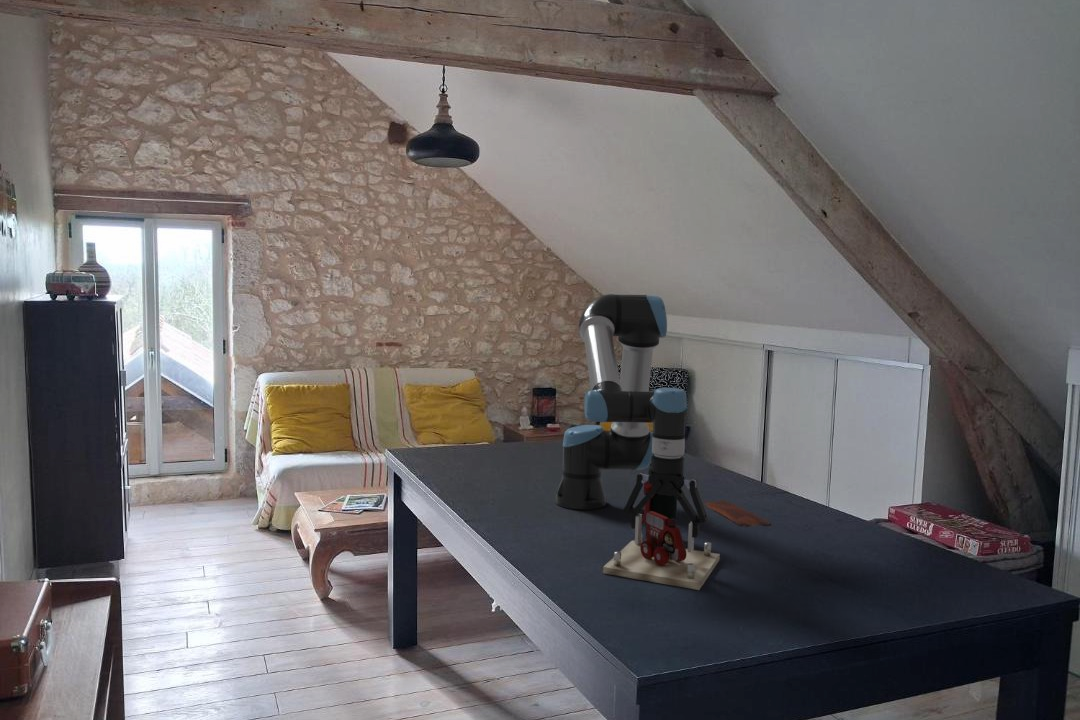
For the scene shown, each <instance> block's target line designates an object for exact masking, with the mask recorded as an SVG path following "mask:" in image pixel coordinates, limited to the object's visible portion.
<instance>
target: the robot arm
mask: <svg viewBox="0 0 1080 720" xmlns="http://www.w3.org/2000/svg"><path fill="white" fill-rule="evenodd" d="M667 320H668V317H667V310H666V306H665V303H664V300H663V299H662V297H660V296H657V295H647V294H614V293H612V294H603V295H600V296H599V297H597V298H595V299H594V300H592V301H591V302H590V303H589V304H587V306H586V307H585V309H584V310H583V311H582V313H581V315H580V318H579V320H578V321H579V322H578V332H579V333H578V334H579V336H580V338H581V339H582V341H583V343H584V349H585V354H586V355H585V356H586V357H585V358H586V364H587V371H588V377H589V378H588V379H589V386H590V390H587V391H586V392H585V395H584V403H583V404H584V405H583V407H584V416H585V419H586V420H587V421H589V422H600V423H611V424H610V430H604V428H603V426H602V425H600V424H582V425H577V426H572V427H569V428H568V429H566V430H565V432H564V434H563V443H562V447H563V451H562V476H561V480H560V483H559V484H558V485H559V486H558V488H557V491H556V494H555V503H556V505H558V506H560V507H562V508H566V509H571V510H584V511H585V510H597V509H600V508H604V507H606V504H607V495H606V491H605V488H604V485H603V482H602V470H606V471H607V470H608V471H609V470H612V471H613V470H614V471H615V470H622V471H636V470H637V471H641V470H646V469H647V468H648V467H651V473H650V475H648V474H646V473H644V472H643V471H641V472H640V473H639V474H637V476H636V480H635V481H636V483H635V485H634V487H633V489H632V491H631V493H630V495H629V498H628V500H627V502H626V504H625V506H624V508H623V510H624V512H625V513H629V514H630V515H631V521H630V524H631V529H633V530H634V541H635V544H638V543H639V542H640V541H641V532H642V524H643V523H642V518H643V514H641V513H640V512H641V511H642V509H644V508H645V505H646V503H647V502H648V501H649V500H650V499H651V498H652V496H653V495H654V494H655V493H658V495H667V496H673V495H674V496H675V498H676V499H677V502H679V505H680V506H681V507H682V508H683V510H684V512H685V514H686V515H687V516H688V518H689V520H690V522H689V523H688V534H687V549H688V552H692V550H695V547H694V545H695V539H696V538H698V536H699V534H700V533H699V530H700V524H704V523H705V522H706V521H707V520H708V518H709V517H708V515H707V511H706V509H705V505H704V502H703V501H702V498H701V495H700V492H699V490H698V479H696V478H692V479H685V476H684V472H685V471H684V470H685V469H684V465H685V458H684V457H683V456H684V455H685V449H686V448H685V445H686V442H685V441H686V424H687V422H686V421H687V420H686V419H687V408H688V402H687V392H686V391H685V390H684V389H682V388H677V387H659V388H656V389H654V390H650V381H651V371H652V363H653V361H652V360H653V352H654V349H655V348H656V347H657V346H659V344H660V338H661V339H663V338H665V337H666V336H667V332H668V321H667ZM613 337H618V338H617V342H618V343H619V344H620V345H621V346H622V352H621V353H622V355H621V363H620V364H621V365H620V372H619V368H618V362H617V357H616V351H615V350H616V349H615V345H614V340H613ZM647 423H649V424H650V423H651V424H652V431H651V429H650V425H648V424H647ZM653 454H654V455H653ZM650 463H651V465H650ZM648 480H649V482H650V483H651V485H652V488H651V490H650V491H649V492H648V493H647V494H646V495H644V497H642V499H641V500H640V501H639V503H638V504H637V505H636V506H635V507H634V505H635V502H636V500H637V499H638V496H639V494H640V492H641V490H642V488H643V487H644V483H646V481H648ZM684 486H686V488H687V489H688V490H689V494H690V497H691V500H692V502H693V504H694V506H695V509H694V508H693V505H691V503H690V501H689V500H688V499H687V497H686V495H685V492H684V490H682V488H683V487H684ZM695 510H696V511H695Z"/></svg>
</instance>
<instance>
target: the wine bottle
mask: <svg viewBox="0 0 1080 720" xmlns="http://www.w3.org/2000/svg"><path fill="white" fill-rule="evenodd" d="M650 473H651V466H649V469H648V474H647V475H650ZM651 488H652V485H651V483H650V482H649V480H647V481H646V483H644V484H643V494H644V496H646V494H647V493H648V492H649V491H650V490H651ZM677 503H678V500H677V499H676V498H675V496H674V495H673V496H667V495H658V493H655V494H654V495H653V496H652V498H651V499H650V500H649V501H648V502H647V503H646V505H645V506H644V508H643V509H644V510H643V515H642V524H643V526H645V539H646V540H647V522H646V514H647V512H650V511H654V512H656V513H658V514H661V515H663V516H666V517H668V518H669V519H675V520H676V521H677V507H678V506H677ZM675 527H677V525H676V526H675Z"/></svg>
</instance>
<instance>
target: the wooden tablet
mask: <svg viewBox="0 0 1080 720" xmlns="http://www.w3.org/2000/svg"><path fill="white" fill-rule="evenodd" d="M704 506H706V507H708V508H709V509H711V510H712V511H714V512H716V513H718V514H720V515H722V516H723V517H725V518H726V519H728V520H729V521H731V522H732V523H734V524H736V525H737V524H738V525H737V526H740V527H750V525H751V526H756V525H763V526H762V527H764V526H765V525H768V526H770V525H771V523H770V522H769V521H768V520H766V519H765V518H763V517H761V516H758V514H755V513H753V512H751V511H749V510H747V509H745V508H742V507H740V506H739V505H736V504H734V503H732V502H729V501H728V500H713V501H705V504H704ZM765 527H766V526H765Z"/></svg>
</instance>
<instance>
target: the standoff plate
mask: <svg viewBox="0 0 1080 720" xmlns="http://www.w3.org/2000/svg"><path fill="white" fill-rule="evenodd" d="M642 542H643V532H642V531H641V541H640V542H639V543H638V544H635V540H631V541H630V542H629V543H628V544H626V546H624V547H623V548H622V549H621V550H620V551H614V552H613V557H612V558H611V559H610V560H609V561H608V562H607V563H606V564H605V565H604V566H603V569H602V574H605V575H612V576H616V577H623V578H629V579H634V580H640V581H646V582H651V583H657V584H662V585H668V586H673V587H674V586H675V587H680V588H686V589H691V590H697V591H700V589H701V588H702V586H704V584H705V583H706V581H707V579H708V578H709V576H710V575H711V573H712V572H713V570H714V569H715V567H716V566H717V564H718V563H719V562H720V560H721V559H720V555H721V554H720V553H715V552H711V551H712V542H708V541H705V542H704V543H703V544H704V545H703V547H704V548H703V551H702V550H696V549H693V550H692V552H688V548H685V549H686V558H685V560H683V561H675V560H673V559H672V560H668V563H667V564H666V565H662V566H660V565H658V564H657V563H656V562H655V560H654V557H653V558H649V559H646V558H644V557H643V555H642V553H641V550H640V547H641V543H642Z"/></svg>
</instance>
